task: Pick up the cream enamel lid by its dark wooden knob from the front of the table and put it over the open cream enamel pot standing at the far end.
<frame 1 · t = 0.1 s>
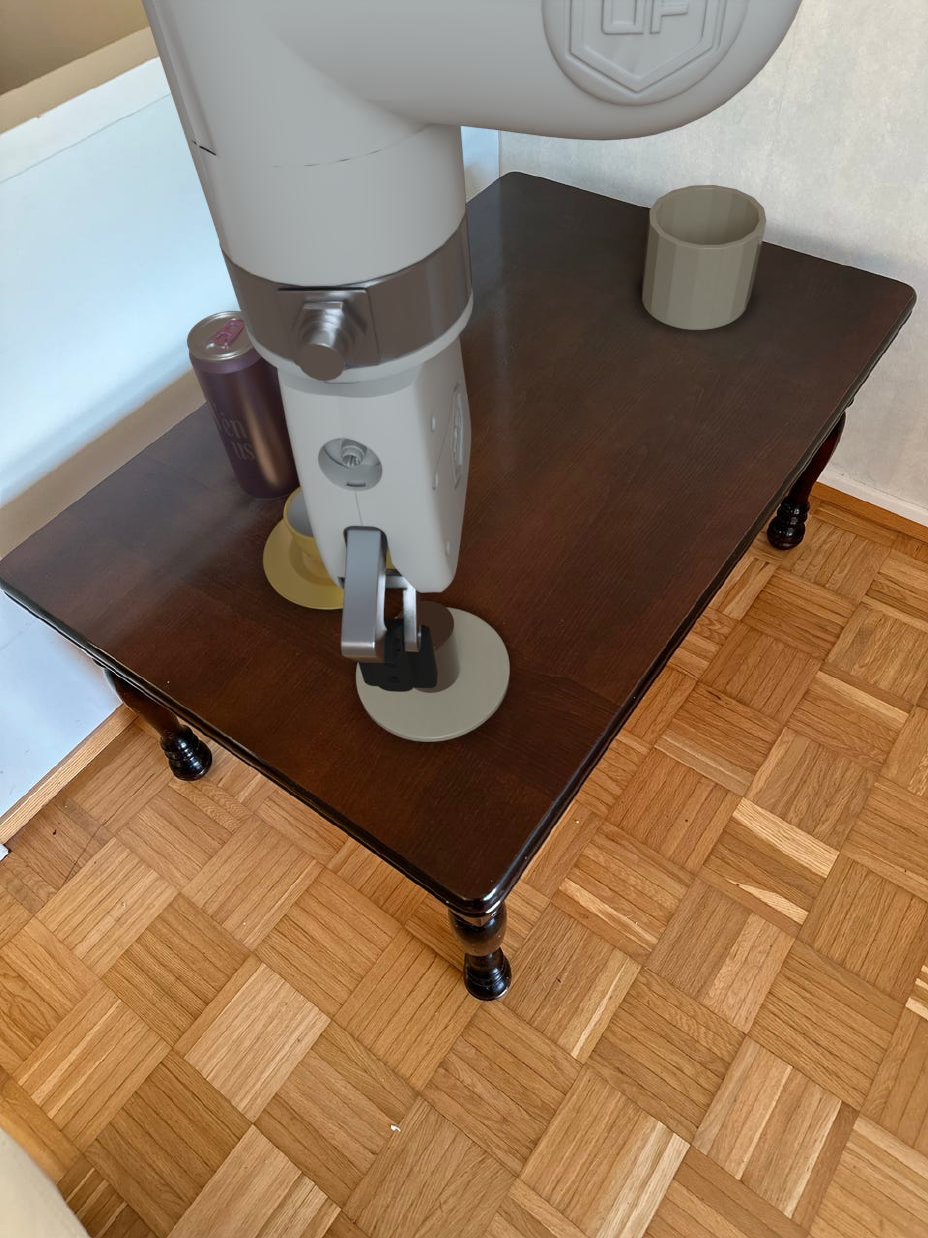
hand: (415, 593, 43), 22 cm above the table, tool pointing down, fingers open, 9 cm apart
mug: (392, 402, 83), on the table
lid: (433, 673, 65), point 1 cm above the table
pot: (694, 297, 88), on the table
beverage can: (274, 480, 78), on the table
cup: (338, 553, 73), on the table
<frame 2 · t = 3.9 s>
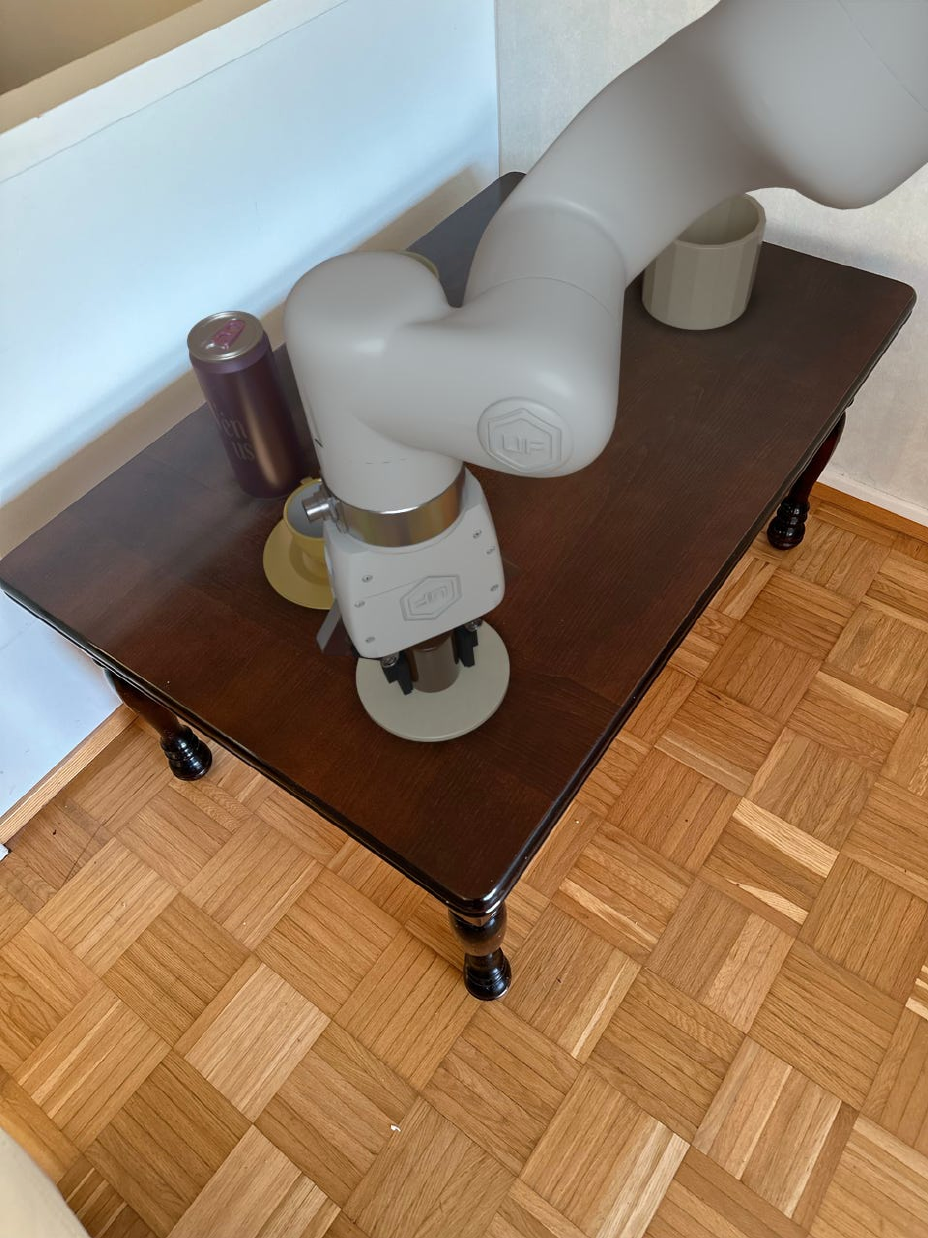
hand: (431, 663, 64), 2 cm above the table, tool pointing down, fingers closed on lid, 4 cm apart
lid: (433, 673, 65), point 1 cm above the table, touching gripper
everything else where it was.
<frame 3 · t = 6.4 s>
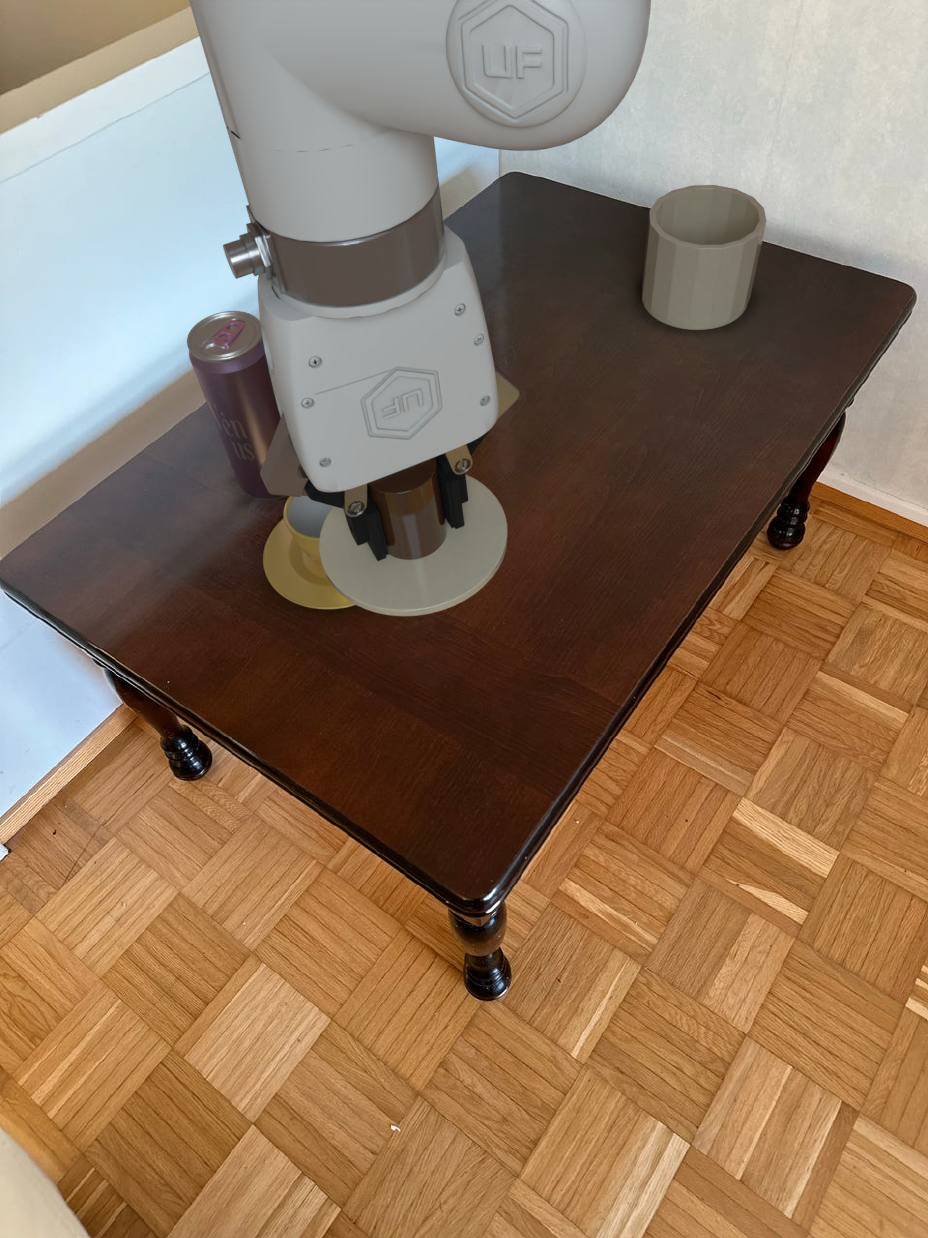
hand: (411, 525, 52), 17 cm above the table, tool pointing down, fingers closed on lid, 4 cm apart
lid: (413, 540, 53), point 15 cm above the table, touching gripper
everything else where it was.
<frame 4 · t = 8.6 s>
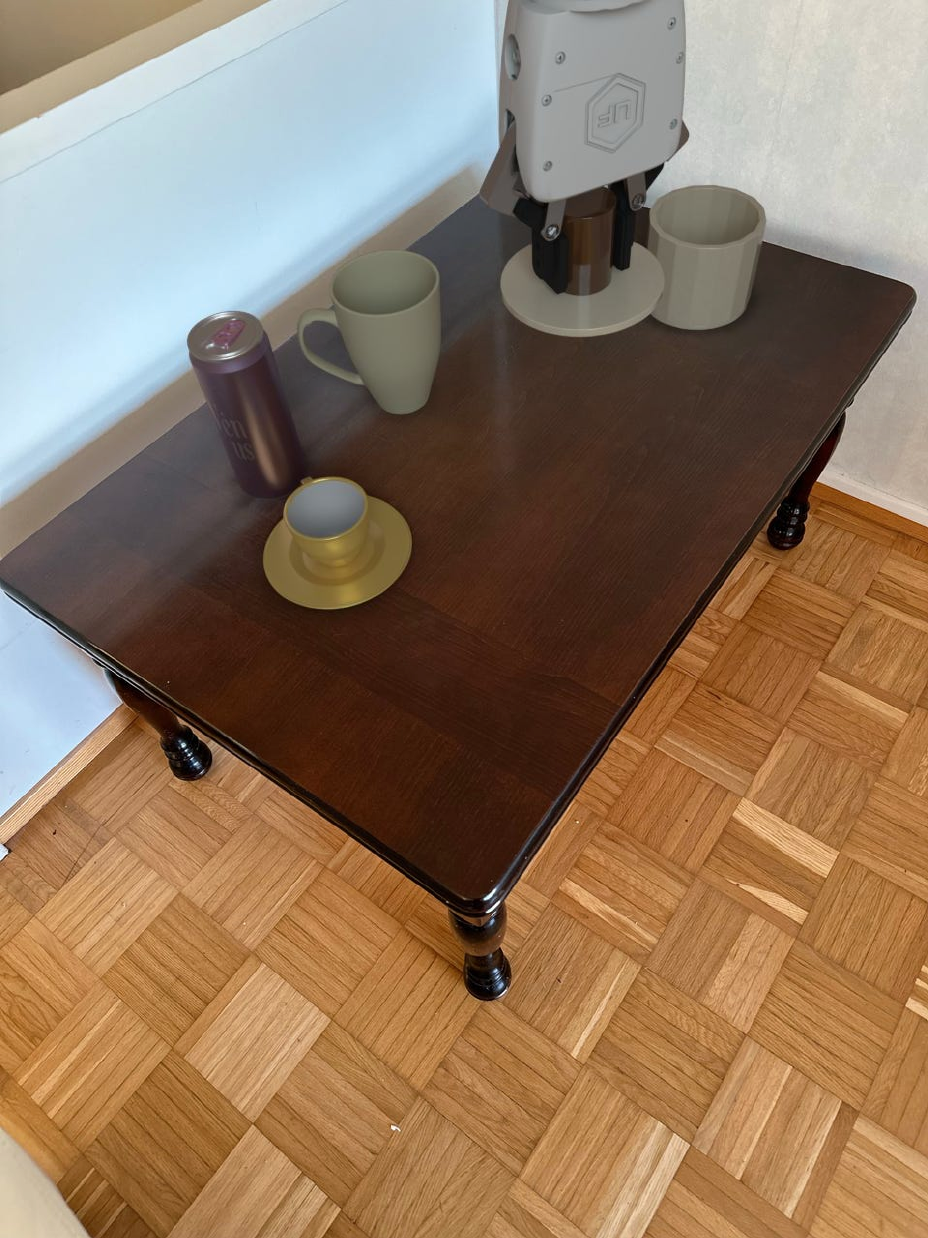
hand: (582, 268, 60), 19 cm above the table, tool pointing down, fingers closed on lid, 4 cm apart
lid: (581, 285, 61), point 18 cm above the table, touching gripper
everything else where it was.
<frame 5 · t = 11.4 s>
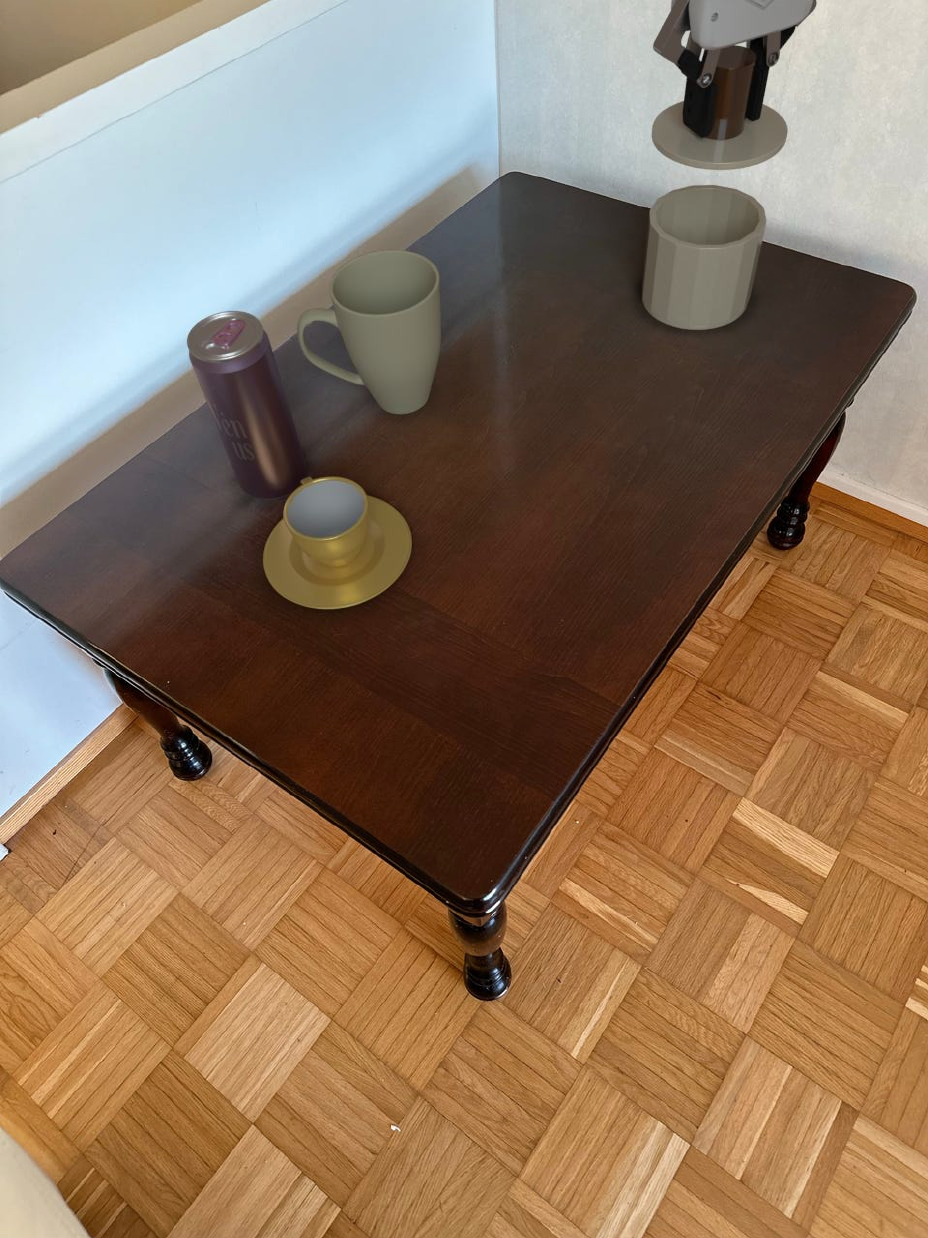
hand: (721, 119, 75), 17 cm above the table, tool pointing down, fingers closed on lid, 4 cm apart
lid: (718, 134, 76), point 16 cm above the table, touching gripper
everything else where it was.
when the fingers open (10 cm above the table, at t = 13.5 s): lid stays where it is, resting on pot.
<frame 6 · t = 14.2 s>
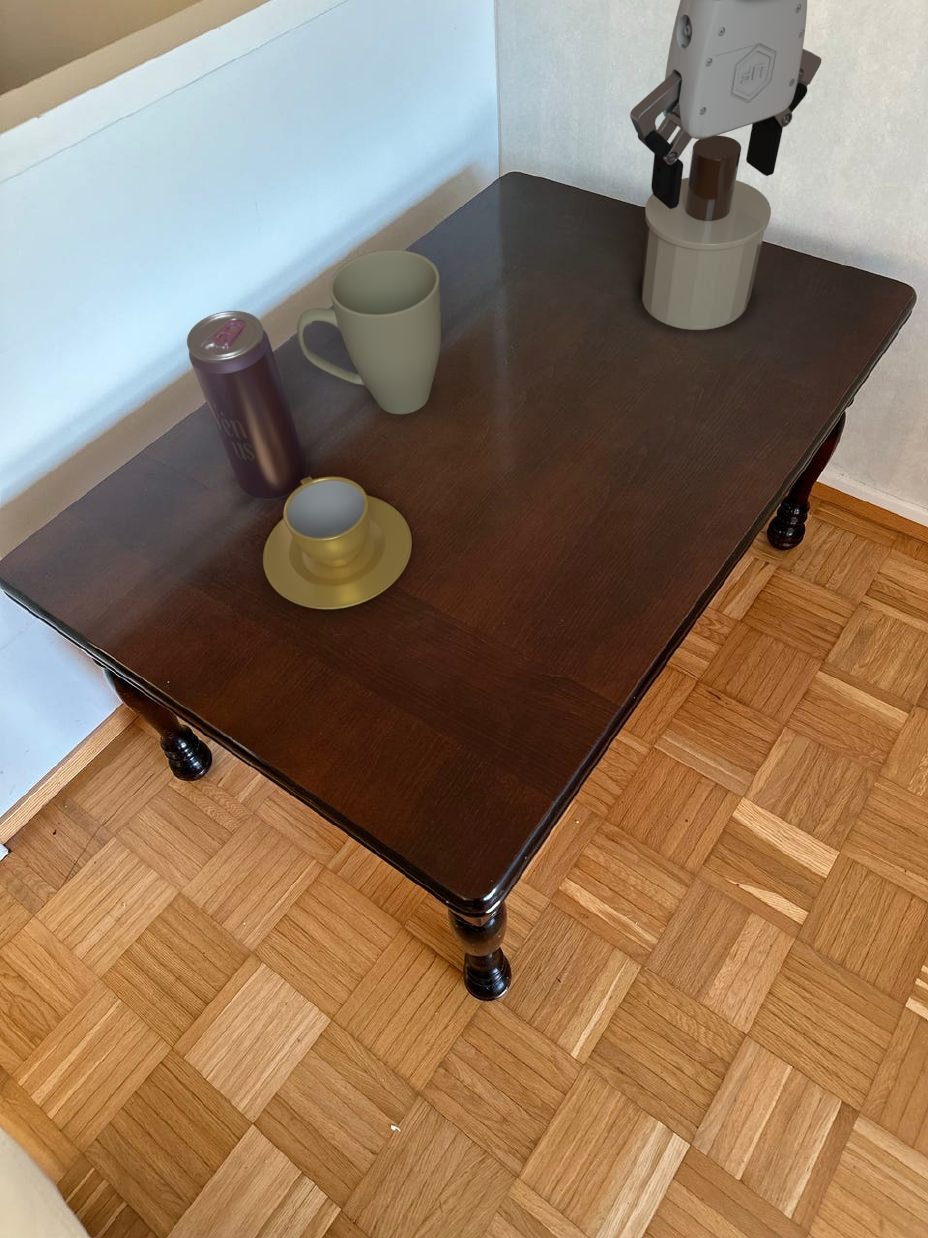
hand: (712, 184, 79), 11 cm above the table, tool pointing down, fingers open, 9 cm apart
lid: (706, 214, 82), point 8 cm above the table, touching pot
everything else where it was.
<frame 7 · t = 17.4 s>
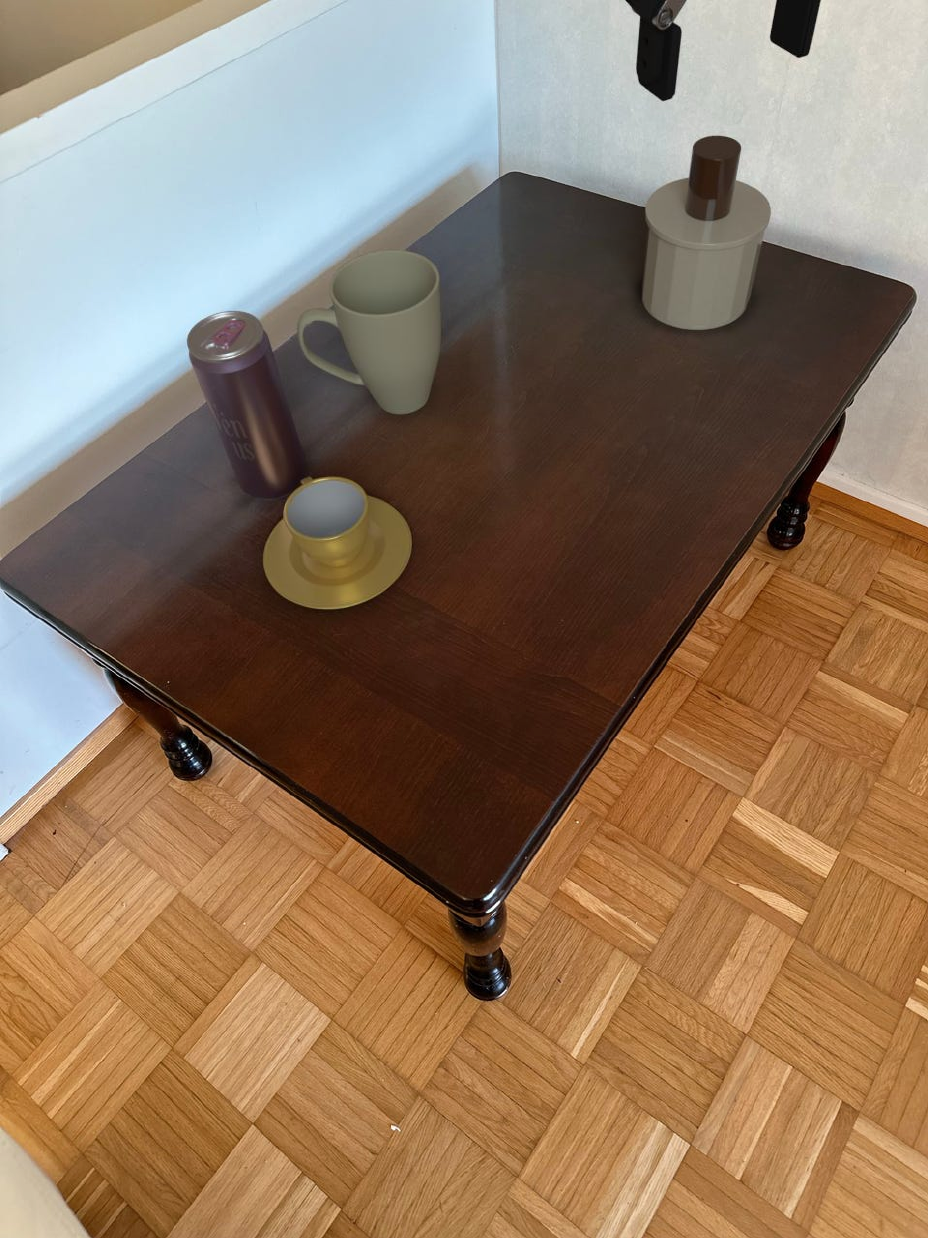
hand: (722, 69, 56), 28 cm above the table, tool pointing down, fingers open, 9 cm apart
nothing on the table moved.
at the end: lid 0.1 cm off-centre on the pot, point 8.5 cm above the pot's base; lid tilted 0°; the gripper is holding nothing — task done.
